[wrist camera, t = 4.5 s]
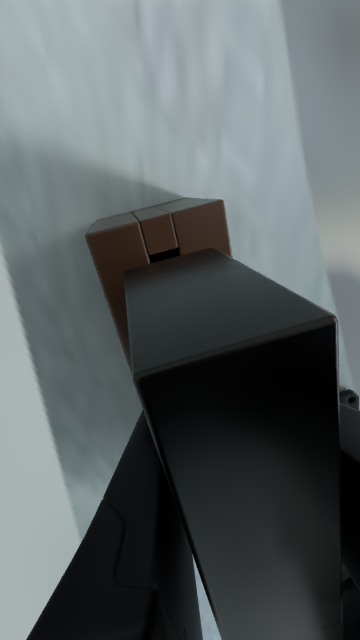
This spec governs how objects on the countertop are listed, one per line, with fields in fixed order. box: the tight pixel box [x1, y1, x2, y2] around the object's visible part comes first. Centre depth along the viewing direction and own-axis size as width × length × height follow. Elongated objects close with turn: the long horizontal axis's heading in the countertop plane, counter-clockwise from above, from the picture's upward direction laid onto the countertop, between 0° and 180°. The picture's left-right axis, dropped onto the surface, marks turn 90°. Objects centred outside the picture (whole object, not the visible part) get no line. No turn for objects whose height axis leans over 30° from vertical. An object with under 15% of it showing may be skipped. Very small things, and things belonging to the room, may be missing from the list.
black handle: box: [123, 248, 343, 640], centre depth 10 cm, size 2×8×10 cm, turn 13°
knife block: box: [85, 198, 232, 376], centre depth 13 cm, size 4×10×5 cm, turn 13°
